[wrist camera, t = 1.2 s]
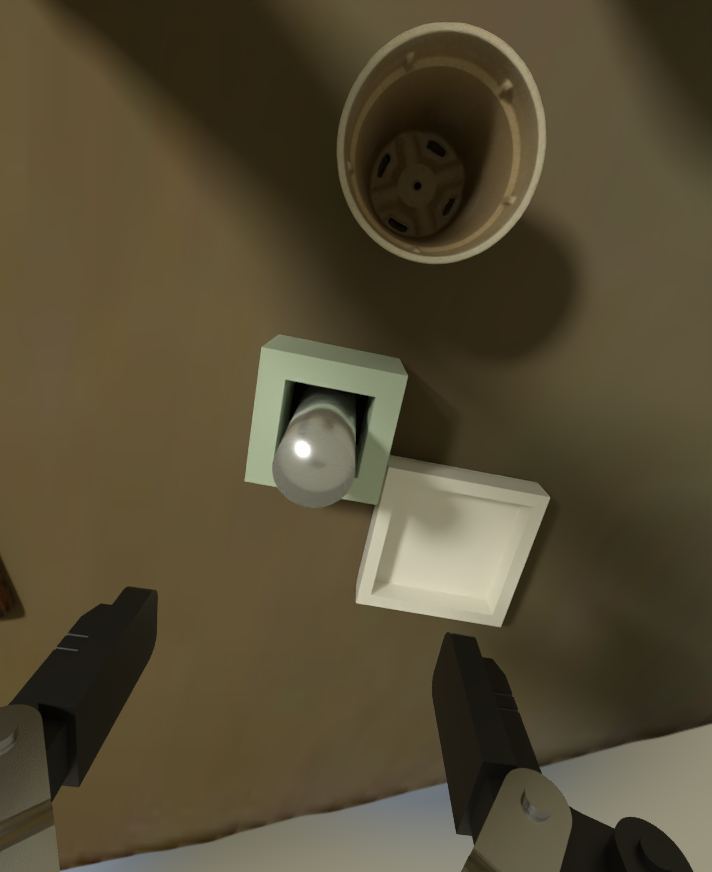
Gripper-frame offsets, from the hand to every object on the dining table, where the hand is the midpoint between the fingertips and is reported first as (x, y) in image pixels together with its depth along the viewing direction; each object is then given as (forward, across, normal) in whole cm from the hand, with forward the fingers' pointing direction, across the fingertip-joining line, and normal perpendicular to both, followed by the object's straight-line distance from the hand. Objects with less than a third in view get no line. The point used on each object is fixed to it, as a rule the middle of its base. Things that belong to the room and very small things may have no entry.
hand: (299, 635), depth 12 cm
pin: (+22, +1, 0) cm, 22 cm away
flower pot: (+22, -3, -15) cm, 27 cm away
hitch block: (+22, +1, 0) cm, 22 cm away
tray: (+22, -10, +9) cm, 26 cm away
